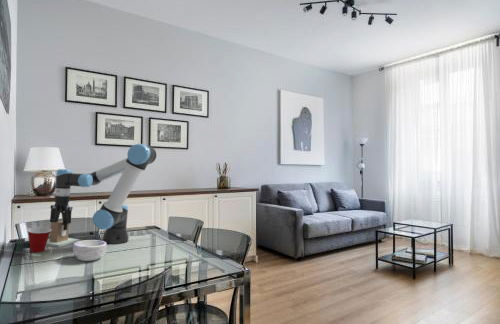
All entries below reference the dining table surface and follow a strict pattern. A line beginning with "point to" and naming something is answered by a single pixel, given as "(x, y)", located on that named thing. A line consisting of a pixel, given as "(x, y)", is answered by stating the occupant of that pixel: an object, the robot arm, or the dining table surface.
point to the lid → (59, 235)
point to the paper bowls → (89, 249)
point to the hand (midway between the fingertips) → (59, 235)
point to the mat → (61, 246)
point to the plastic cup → (38, 238)
